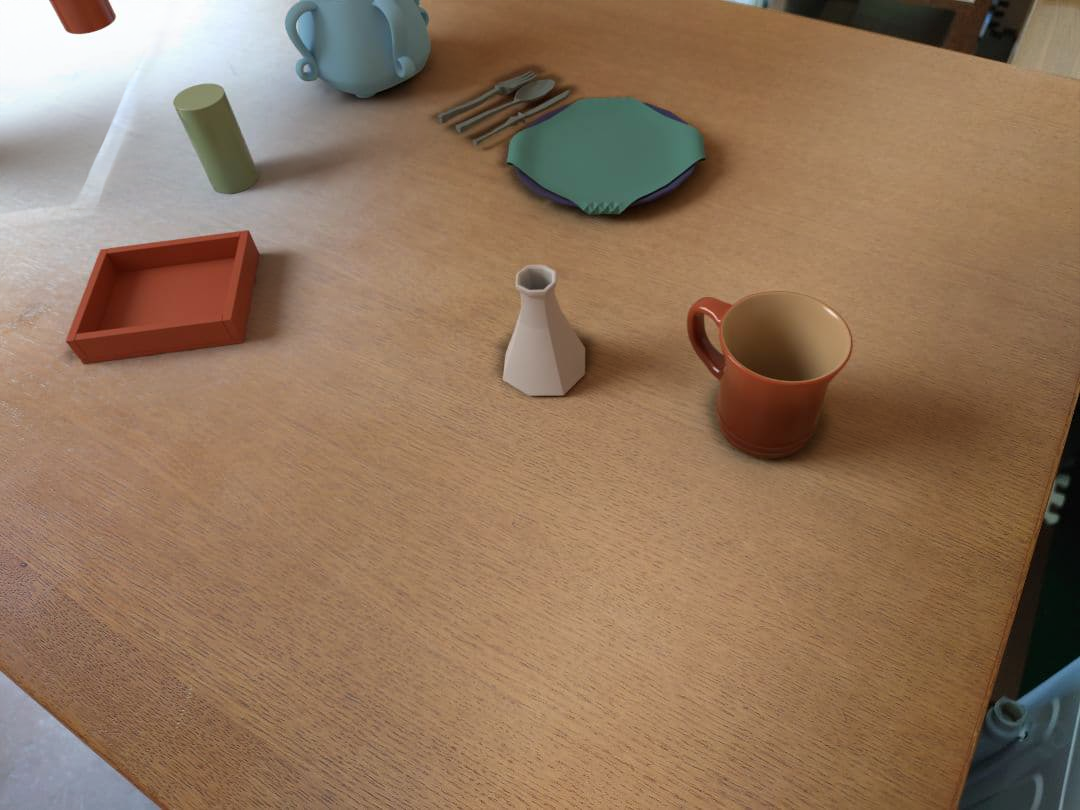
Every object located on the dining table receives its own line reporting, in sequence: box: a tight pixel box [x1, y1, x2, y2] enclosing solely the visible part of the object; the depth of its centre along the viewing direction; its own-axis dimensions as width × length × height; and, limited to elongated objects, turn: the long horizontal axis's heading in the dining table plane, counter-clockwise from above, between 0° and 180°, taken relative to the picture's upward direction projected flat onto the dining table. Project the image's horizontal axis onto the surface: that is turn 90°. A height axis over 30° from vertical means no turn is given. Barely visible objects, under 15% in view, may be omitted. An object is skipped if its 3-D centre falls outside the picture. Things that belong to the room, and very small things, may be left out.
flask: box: [502, 264, 586, 397], centre depth 62 cm, size 7×7×10 cm
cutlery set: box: [437, 70, 707, 216], centre depth 85 cm, size 20×30×2 cm, turn 41°
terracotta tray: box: [65, 229, 260, 365], centre depth 73 cm, size 15×13×3 cm
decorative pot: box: [284, 0, 432, 99], centre depth 95 cm, size 16×16×14 cm
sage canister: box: [172, 82, 259, 195], centre depth 83 cm, size 5×5×10 cm
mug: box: [686, 290, 854, 460], centre depth 57 cm, size 12×9×10 cm
